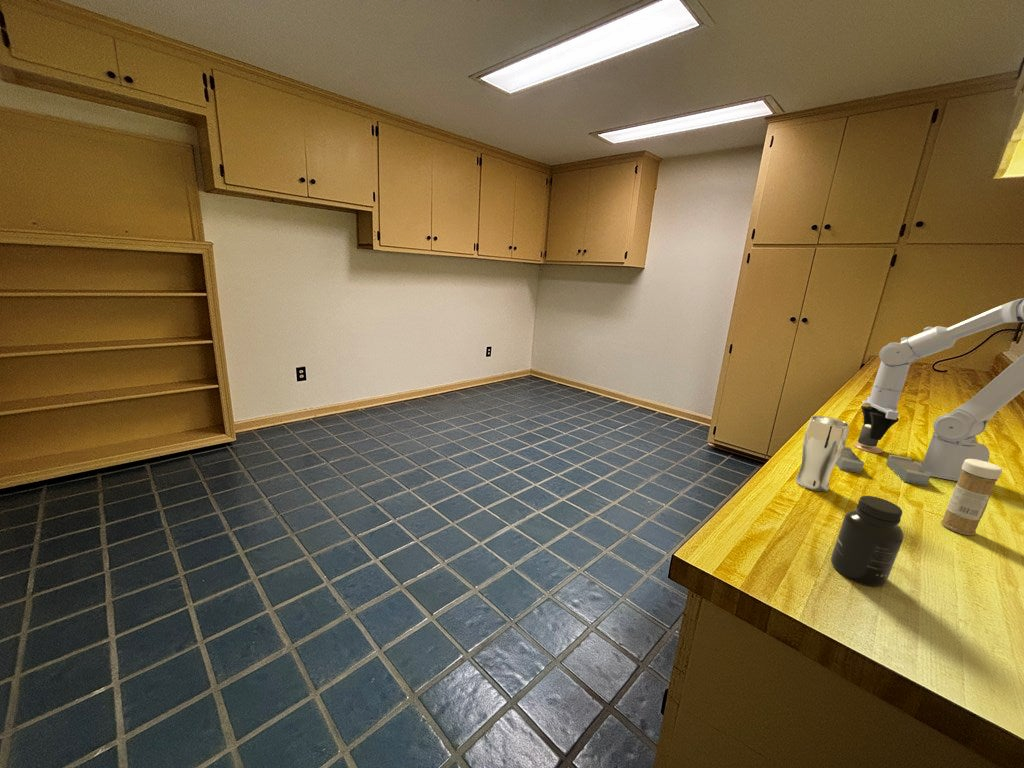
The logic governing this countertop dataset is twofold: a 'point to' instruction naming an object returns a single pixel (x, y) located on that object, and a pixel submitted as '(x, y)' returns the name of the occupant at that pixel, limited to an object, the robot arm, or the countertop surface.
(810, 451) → the beer glass
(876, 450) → the coaster
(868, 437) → the grey short cylinder
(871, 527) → the supplement bottle
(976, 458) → the robot arm
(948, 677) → the countertop surface
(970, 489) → the sprinkles bottle
